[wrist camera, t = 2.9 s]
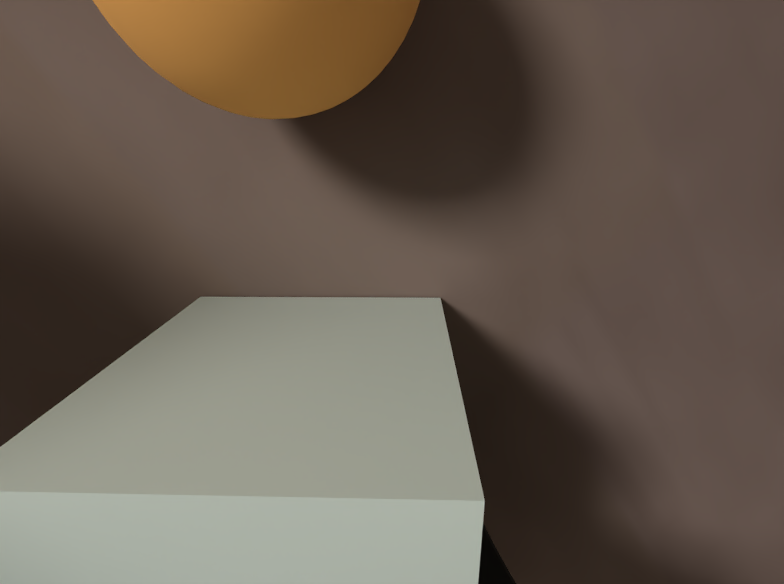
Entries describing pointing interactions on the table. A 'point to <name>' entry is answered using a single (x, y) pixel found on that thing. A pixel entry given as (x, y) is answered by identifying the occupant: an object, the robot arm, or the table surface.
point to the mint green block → (255, 454)
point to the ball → (264, 48)
